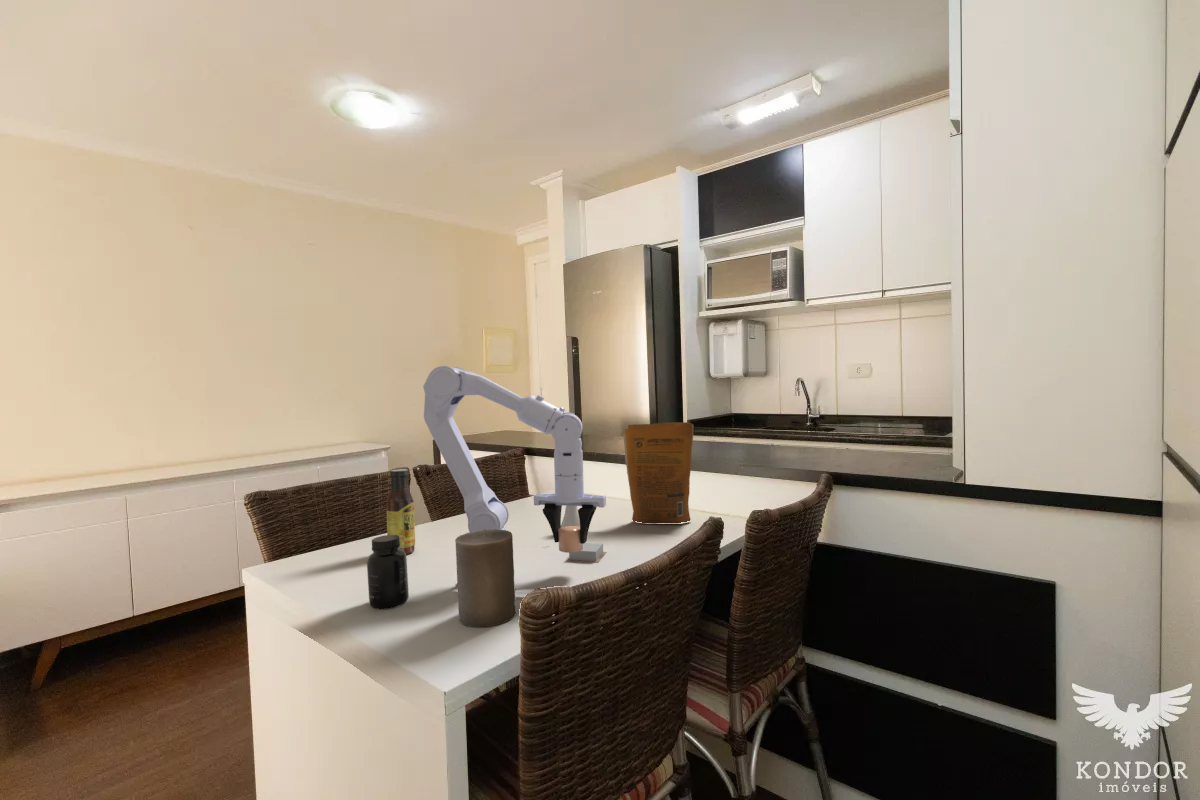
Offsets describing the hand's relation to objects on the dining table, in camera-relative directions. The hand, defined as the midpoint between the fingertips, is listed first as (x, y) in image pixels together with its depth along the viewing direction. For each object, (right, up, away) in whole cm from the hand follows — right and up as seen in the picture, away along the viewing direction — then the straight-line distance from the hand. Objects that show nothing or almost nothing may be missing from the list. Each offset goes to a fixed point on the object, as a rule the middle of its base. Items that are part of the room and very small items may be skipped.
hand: (570, 541), depth 111 cm
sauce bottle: (-42, -9, +22) cm, 48 cm away
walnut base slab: (+3, -8, +11) cm, 14 cm away
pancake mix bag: (+23, -6, +43) cm, 49 cm away
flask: (-1, -7, +32) cm, 33 cm away
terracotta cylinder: (0, -2, 0) cm, 2 cm away
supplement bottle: (-33, -9, -9) cm, 35 cm away
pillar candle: (-14, -9, -16) cm, 23 cm away
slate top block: (+3, -6, +11) cm, 13 cm away
